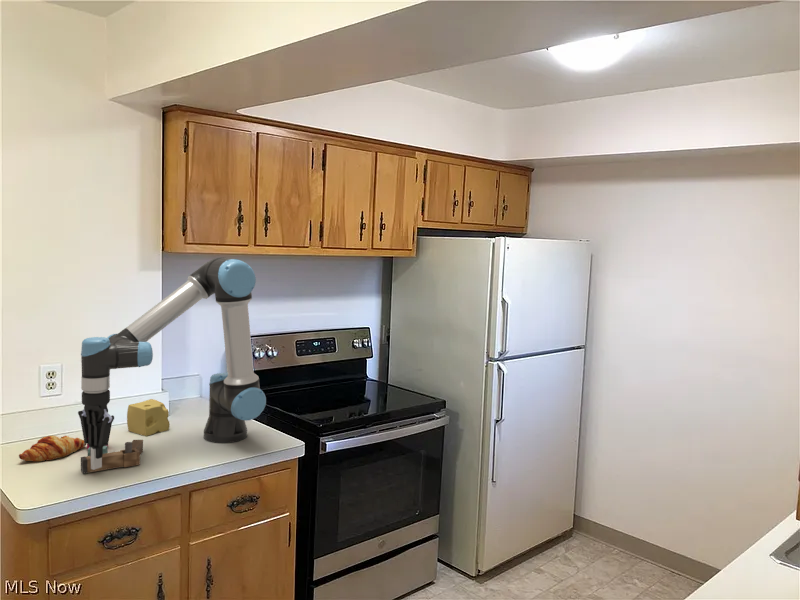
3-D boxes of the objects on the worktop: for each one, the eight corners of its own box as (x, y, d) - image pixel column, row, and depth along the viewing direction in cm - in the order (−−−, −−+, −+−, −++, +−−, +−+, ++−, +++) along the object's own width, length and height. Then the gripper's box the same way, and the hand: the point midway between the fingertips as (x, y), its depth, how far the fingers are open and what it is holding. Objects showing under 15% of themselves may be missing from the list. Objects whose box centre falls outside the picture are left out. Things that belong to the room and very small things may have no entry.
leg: (135, 460, 204) (135, 447, 203) (139, 464, 200) (139, 452, 200) (80, 469, 194) (80, 456, 193) (83, 474, 190) (83, 461, 190)
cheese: (169, 430, 235) (170, 403, 234) (144, 437, 226) (144, 409, 225) (151, 424, 241) (151, 398, 239) (125, 431, 232) (126, 404, 230)
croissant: (81, 455, 216) (74, 432, 217) (97, 447, 211) (90, 423, 212) (15, 472, 198) (9, 447, 199) (30, 464, 193) (24, 438, 194)
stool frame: (143, 451, 212) (143, 430, 211) (132, 466, 199) (132, 444, 199) (97, 451, 210) (98, 430, 209) (84, 466, 197) (84, 444, 197)
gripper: (121, 390, 190) (122, 468, 192) (92, 384, 196) (92, 460, 198) (99, 396, 183) (100, 476, 186) (69, 389, 189) (70, 467, 191)
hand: (96, 467), depth 192 cm, fingers closed
